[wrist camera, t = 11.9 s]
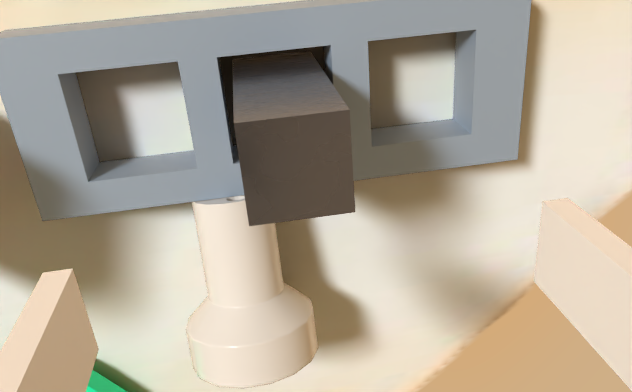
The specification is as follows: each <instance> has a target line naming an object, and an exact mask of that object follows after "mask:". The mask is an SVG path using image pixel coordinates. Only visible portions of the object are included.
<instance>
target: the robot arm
mask: <svg viewBox="0 0 632 392" xmlns="http://www.w3.org/2000/svg"><path fill="white" fill-rule="evenodd" d="M534 282H535V283H536V284H537V285H538V287H539V288H540V289H541V290H542V291H543V292H544V293H545V294H546V295H547V297H548V298H549V299H550V300H551V301H552V302H553V303H554V304H555V306H556V307H557V308H558V309H559V310H560V311H561V312H562V314H563V315H564V316H565V317H566V318H567V319H568V320H569V321H570V322H571V324H572V325H573V326H574V327H575V328H576V329H577V330H578V331H579V333H580V334H581V335H582V336H583V337H584V338H585V339H586V340H587V341H588V343H589V344H590V345H591V346H592V347H593V348H594V349H595V350H596V352H597V353H598V354H599V355H600V356H601V357H602V358H603V359H604V361H605V362H606V363H607V364H608V365H609V366H610V367H611V368H612V370H613V371H614V372H615V373H616V374H617V375H618V376H619V377H620V378H621V380H622V381H623V382H624V383H625V384H626V385H627V386H628V388H629V389H630V390H631V391H632V247H631V246H629V245H628V244H627V243H626V242H624V241H623V240H622V239H620V238H619V237H618V236H616V235H615V234H614V233H612V232H611V231H610V230H609V229H607V228H606V227H605V226H603V225H602V224H601V223H599V222H598V221H597V220H596V219H594V218H593V217H592V216H590V215H589V214H588V213H586V212H585V211H584V210H583V209H581V208H580V207H579V206H577V205H576V204H575V203H573V202H572V201H571V200H570V199H568V198H564V199H557V200H550V201H543V202H542V210H541V219H540V228H539V237H538V246H537V255H536V265H535V274H534ZM98 350H99V349H98V346H97V343H96V340H95V337H94V333H93V330H92V327H91V324H90V321H89V318H88V315H87V311H86V308H85V305H84V302H83V299H82V296H81V293H80V289H79V286H78V283H77V280H76V277H75V274H74V271H73V268H72V269H65V270H58V271H51V272H44V273H42V275H41V277H40V279H39V281H38V283H37V284H36V286H35V288H34V290H33V292H32V294H31V296H30V297H29V299H28V301H27V303H26V305H25V307H24V309H23V310H22V312H21V314H20V316H19V318H18V320H17V322H16V323H15V325H14V327H13V329H12V331H11V333H10V334H9V336H8V338H7V340H6V342H5V344H4V346H3V347H2V349H1V351H0V392H86V389H87V386H88V383H89V380H90V376H91V373H92V370H93V366H94V363H95V360H96V357H97V353H98Z"/></svg>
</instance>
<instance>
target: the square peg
mask: <svg viewBox="0 0 632 392" xmlns="http://www.w3.org/2000/svg"><path fill="white" fill-rule="evenodd" d="M232 63H233V113H234V129H235V135H236V142H237V149H238V155H239V162H240V169H241V175H242V182H243V189H244V196H245V202H246V209H247V216H248V222H249V226H256V225H263V224H270V223H278V222H285V221H293V220H300V219H307V218H315V217H322V216H329V215H337V214H344V213H352V212H355V200H354V181H353V162H352V143H351V125H350V109H349V108H348V106H347V105H346V103H345V102H344V100H343V99H342V97H341V96H340V95H339V93H338V92H337V90H336V89H335V87H334V86H333V84H332V83H331V81H330V80H329V78H328V77H327V75H326V74H325V72H324V71H323V69H322V68H321V66H320V65H319V63H318V62H317V60H316V59H315V58H314V56H313V55H312V53H311V52H310V51H303V52H293V53H284V54H275V55H265V56H256V57H247V58H237V59H232Z"/></svg>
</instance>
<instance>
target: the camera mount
mask: <svg viewBox="0 0 632 392" xmlns="http://www.w3.org/2000/svg"><path fill="white" fill-rule="evenodd" d="M86 392H127V391H125V390H124V389H122V388H121V387H119V386H118V385H116V384H114V383H113V382H111V381H110V380H108V379H107V378H105V377H103V376H102V375H100V374H99V373H97V372H96V371H94V370H92V373H91V376H90V380H89V383H88V386H87V389H86Z"/></svg>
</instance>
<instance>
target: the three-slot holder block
mask: <svg viewBox="0 0 632 392" xmlns="http://www.w3.org/2000/svg"><path fill="white" fill-rule="evenodd" d="M530 11H531V0H306V1H296V2H286V3H276V4H266V5H256V6H246V7H236V8H226V9H216V10H205V11H195V12H185V13H175V14H165V15H155V16H145V17H135V18H125V19H115V20H105V21H94V22H84V23H74V24H64V25H54V26H44V27H34V28H24V29H14V30H4V31H2V32H0V95H1V98H2V101H3V104H4V107H5V110H6V113H7V116H8V119H9V122H10V125H11V128H12V131H13V134H14V137H15V140H16V143H17V146H18V149H19V152H20V155H21V158H22V161H23V164H24V167H25V170H26V173H27V176H28V179H29V182H30V185H31V188H32V191H33V194H34V197H35V200H36V203H37V206H38V209H39V212H40V215H41V218H42V221H48V220H55V219H63V218H71V217H79V216H86V215H94V214H102V213H109V212H117V211H125V210H132V209H140V208H148V207H155V206H163V205H171V204H179V203H186V202H194V201H202V200H209V199H217V198H225V197H232V196H240V195H244V189H243V182H242V175H241V169H240V162H239V155H238V149H237V145H235V146H233V143H232V136H231V130H230V123H229V116H228V110H227V103H226V97H225V90H224V84H223V77H222V71H221V64H220V58H219V57H224V56H234V55H243V54H252V53H262V52H271V51H281V50H290V49H299V48H309V47H318V46H323V52H324V66H325V74H326V75H327V77H328V78H329V80H330V81H331V83H332V84H333V86H334V87H335V89H336V90H337V92H338V93H339V95H340V96H341V97H342V99H343V100H344V102H345V103H346V105H347V106H348V108H349V109H350V125H351V143H352V162H353V181H356V180H363V179H371V178H379V177H386V176H394V175H402V174H409V173H417V172H425V171H433V170H440V169H448V168H456V167H463V166H471V165H479V164H486V163H494V162H502V161H510V160H517V159H518V148H519V137H520V125H521V114H522V102H523V91H524V79H525V68H526V56H527V45H528V34H529V22H530ZM449 32H456V47H455V79H454V111H453V119H449V120H441V121H433V122H424V123H416V124H408V125H400V126H392V127H383V128H375V129H371V113H370V85H369V58H368V41H374V40H383V39H393V38H402V37H411V36H421V35H430V34H440V33H449ZM168 62H178V66H179V71H180V77H181V82H182V87H183V93H184V98H185V103H186V109H187V114H188V120H189V125H190V130H191V136H192V141H193V146H194V151H186V152H178V153H170V154H161V155H153V156H145V157H137V158H128V159H120V160H112V161H104V162H99V158H98V154H97V151H96V147H95V143H94V139H93V136H92V132H91V128H90V124H89V121H88V117H87V113H86V110H85V106H84V102H83V98H82V95H81V91H80V87H79V83H78V80H77V76H76V72H84V71H93V70H103V69H112V68H122V67H131V66H140V65H150V64H159V63H168Z"/></svg>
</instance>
